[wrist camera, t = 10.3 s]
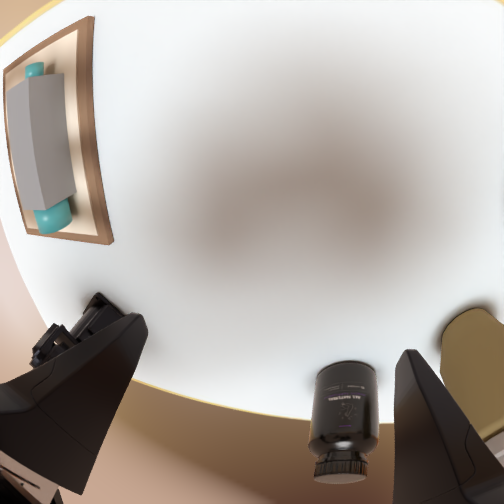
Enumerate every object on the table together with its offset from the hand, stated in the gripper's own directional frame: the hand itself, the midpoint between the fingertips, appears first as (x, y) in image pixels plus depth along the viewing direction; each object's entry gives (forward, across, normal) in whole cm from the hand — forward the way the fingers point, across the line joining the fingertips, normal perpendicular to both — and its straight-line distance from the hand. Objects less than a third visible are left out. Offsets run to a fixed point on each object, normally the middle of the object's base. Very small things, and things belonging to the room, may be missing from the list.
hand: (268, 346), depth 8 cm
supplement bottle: (+12, -7, +19) cm, 24 cm away
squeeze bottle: (+12, -19, +10) cm, 25 cm away
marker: (+11, +21, -6) cm, 24 cm away
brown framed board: (+12, +24, -6) cm, 27 cm away
